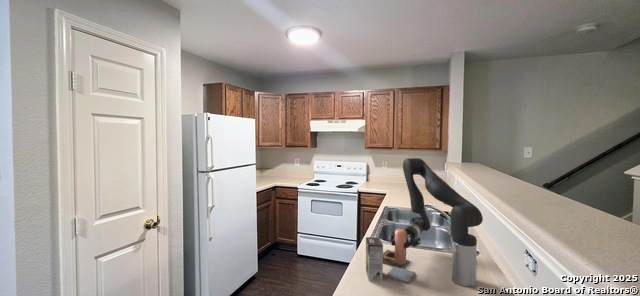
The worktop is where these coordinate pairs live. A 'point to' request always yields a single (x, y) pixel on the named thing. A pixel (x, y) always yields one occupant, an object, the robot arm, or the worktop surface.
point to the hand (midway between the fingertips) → (399, 244)
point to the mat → (400, 274)
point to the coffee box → (374, 259)
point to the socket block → (390, 258)
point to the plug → (400, 246)
